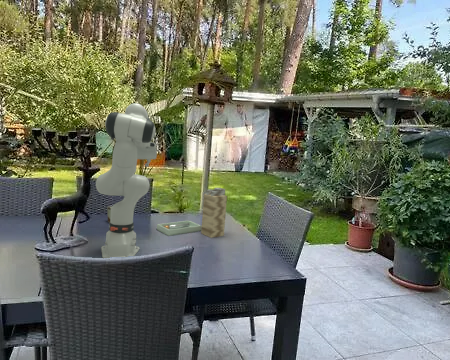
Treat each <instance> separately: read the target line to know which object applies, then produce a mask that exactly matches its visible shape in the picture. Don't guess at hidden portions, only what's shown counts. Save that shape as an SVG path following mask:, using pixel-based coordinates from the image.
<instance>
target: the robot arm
mask: <svg viewBox="0 0 450 360" xmlns="http://www.w3.org/2000/svg"><path fill="white" fill-rule="evenodd" d="M104 124H105V125H104V126H105V131H106V133H107V134H108V136H109V137H110V139H111V140H112V141H114V139H115V144H114V147H113V152H112V159H111V161H112V163H111V167H110V169H109V170H107V171H106V172H104V173H102V174H100V175H99V176H98V177H97V178H96V181H95V188H96V190H97V192H98V193H99V194H101V195H105V196H116V197H117V196H118V197H120V196H121V197H123V199H122V200H121V201H119V202H115V203H114V204H113V205H112V207H111V216H110V223H109V222H108V223H109V224H108V231H107V232H106V234H105V241H104V245H103V246H101V247H100V251H101V256H102V257H101V258H102V259H104V258H110V257H128V256H134V257H135V256H136V255H137V254H138V252H139V251H140V247H139V246H138V245H137V233H136V231H134V226H135V225H134V212H135V208H136V206H137V203H138V201H140V200H141V198H142V197H144V196H145V195H147V193H148V192H149V190H150V186H151V185H150V184H151V183H150V181H149V178H147V176H145V175H141V174H137V173H136V171H137V165H138V160H146V163H145V164H144V165H145V167H146V168H148V167H149V166H150V165H149V164H150V163H151V160H156V159H157V152H158V151H157V144H156V143H155V142H153V141H152V140H153V139H154V138H155V135H156V126H155V123H154V122H153V121H152V120H151V119H150V117H149V113H148V111H147V109H146V108H145V107H144V106H143V104H141V103H136V102H133V103H130V104H129V105H128V106H127V107H126V109H125V111H124V113H123V112H122V113H120V112H119V111H118V112H116V111H112V112H110V113H108V115H107V117H106V119H105V123H104Z"/></svg>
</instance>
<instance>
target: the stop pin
mask: <svg viewBox="0 0 450 360" xmlns="http://www.w3.org/2000/svg"><path fill="white" fill-rule="evenodd" d="M189 226H190V224H189V223H184V224H176V225H167V226H163V227H165V228H167V229H175V228H183V227H189Z"/></svg>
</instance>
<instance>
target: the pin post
mask: <svg viewBox="0 0 450 360" xmlns="http://www.w3.org/2000/svg"><path fill="white" fill-rule="evenodd" d="M227 200H228V195H226V189H225V188H221V187H214V189H206V193H204V194H203V205H202V216H201V218H202V219H201V226H202V228H201V231H200V234H201V235H204V236H206V237H208V238H210V239H213V238H218V237H224V236H225V225H226V214H227V213H226V212H227Z"/></svg>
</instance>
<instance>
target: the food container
mask: <svg viewBox="0 0 450 360" xmlns="http://www.w3.org/2000/svg"><path fill="white" fill-rule="evenodd" d="M112 206H113V205H112ZM112 206H111V205H110V206H109V205H107V207H106V212H107V215H106V216H107V223H110V216H111V207H112Z"/></svg>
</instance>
